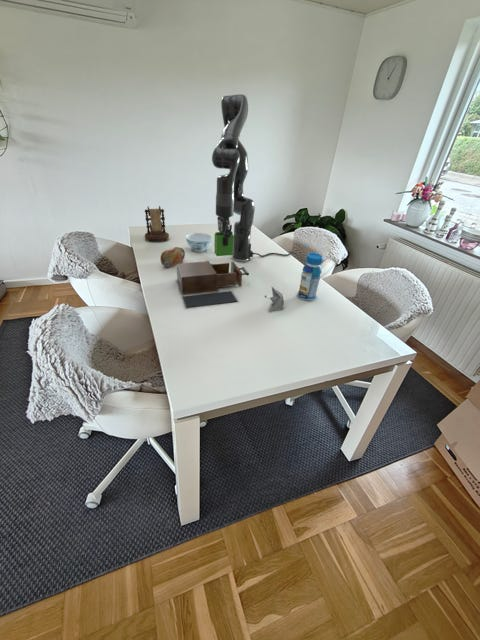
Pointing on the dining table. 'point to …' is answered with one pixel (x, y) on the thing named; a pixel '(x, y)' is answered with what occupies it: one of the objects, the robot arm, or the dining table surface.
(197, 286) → the cabinet
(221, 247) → the green ridged box
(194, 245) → the chinaware
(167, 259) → the tin
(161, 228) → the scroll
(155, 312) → the dining table surface
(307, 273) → the beverage bottle
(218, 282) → the drawer
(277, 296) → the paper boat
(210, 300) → the placemat
